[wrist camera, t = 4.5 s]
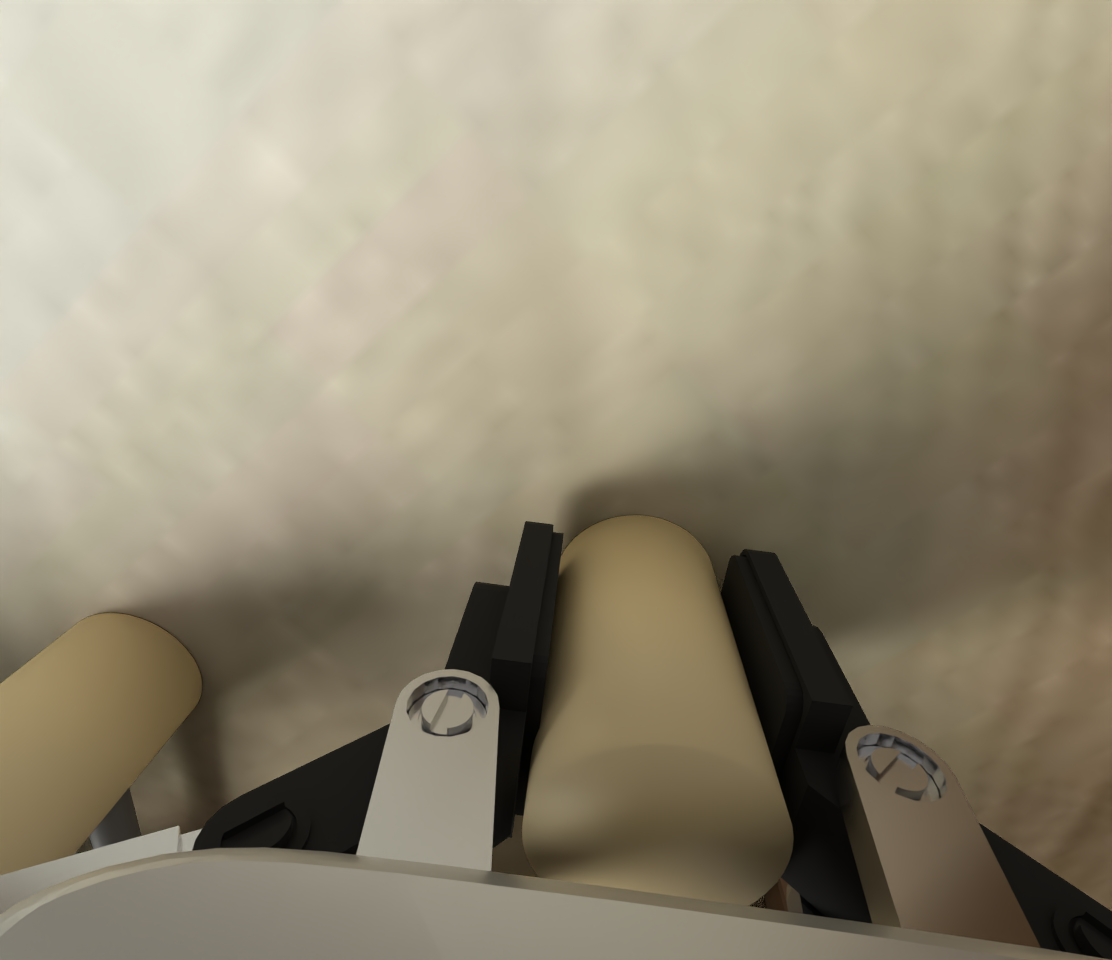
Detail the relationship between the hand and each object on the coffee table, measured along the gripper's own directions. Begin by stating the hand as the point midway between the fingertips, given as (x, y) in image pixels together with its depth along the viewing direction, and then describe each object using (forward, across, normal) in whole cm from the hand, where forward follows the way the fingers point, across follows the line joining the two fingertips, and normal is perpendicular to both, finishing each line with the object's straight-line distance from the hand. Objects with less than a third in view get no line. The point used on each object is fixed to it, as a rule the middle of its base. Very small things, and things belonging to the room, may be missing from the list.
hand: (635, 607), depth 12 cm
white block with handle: (+1, 0, +8) cm, 8 cm away
